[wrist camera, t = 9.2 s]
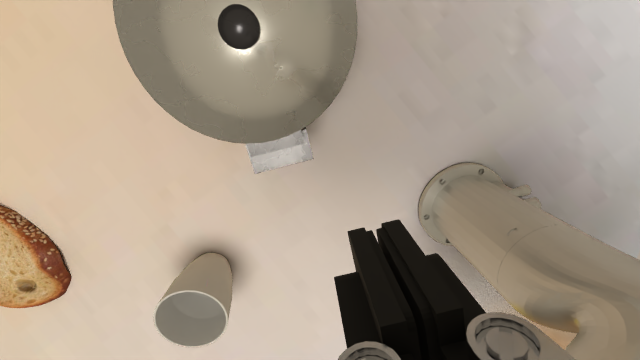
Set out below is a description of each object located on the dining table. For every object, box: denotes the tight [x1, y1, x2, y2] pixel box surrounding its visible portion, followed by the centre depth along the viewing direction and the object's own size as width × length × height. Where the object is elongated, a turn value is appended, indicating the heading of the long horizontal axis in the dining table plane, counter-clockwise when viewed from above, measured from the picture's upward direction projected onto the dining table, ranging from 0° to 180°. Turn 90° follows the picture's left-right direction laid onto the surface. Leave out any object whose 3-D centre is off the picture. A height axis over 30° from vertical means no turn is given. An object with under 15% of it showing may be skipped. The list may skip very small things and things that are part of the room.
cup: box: [153, 253, 232, 348], centre depth 39 cm, size 8×8×10 cm
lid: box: [113, 0, 357, 157], centre depth 23 cm, size 18×21×3 cm
